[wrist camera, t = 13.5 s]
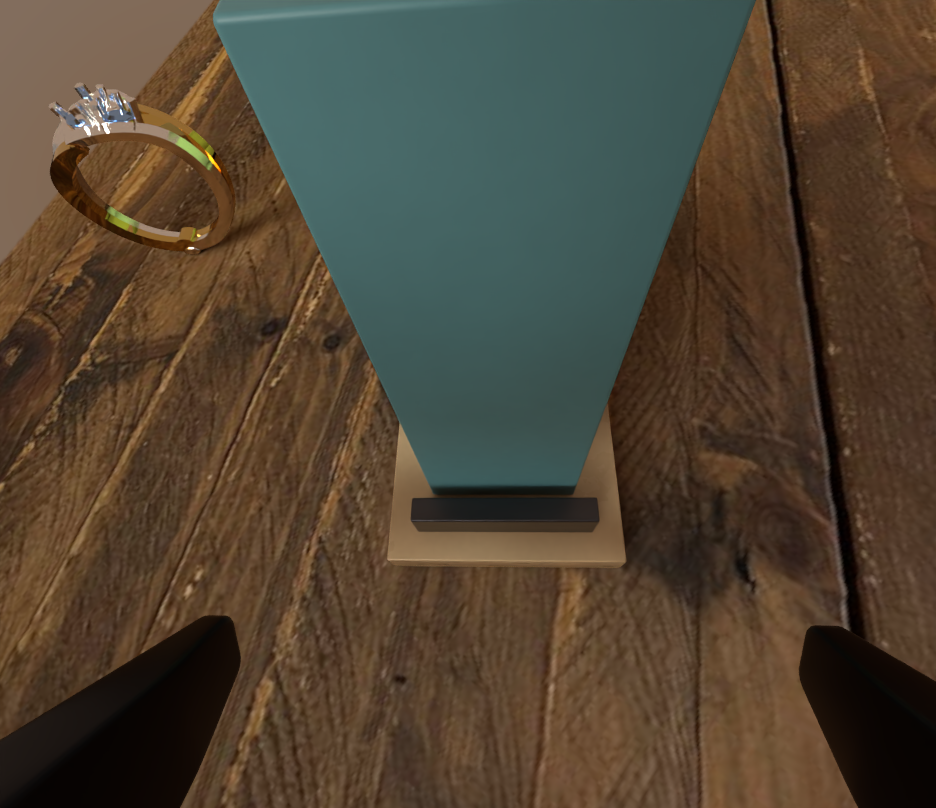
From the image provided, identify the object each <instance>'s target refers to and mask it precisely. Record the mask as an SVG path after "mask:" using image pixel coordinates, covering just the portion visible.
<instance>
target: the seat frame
mask: <svg viewBox="0 0 936 808" xmlns="http://www.w3.org/2000/svg"><path fill="white" fill-rule="evenodd" d="M387 560H388V561H389V562H391V563H392V564H393V565H394V566H454V567H564V568H620V567H621V566H622V565H623V564H624V563H626V552H625V544H624V536H623V527H622V519H621V510H620V502H619V494H618V485H617V477H616V469H615V460H614V452H613V444H612V435H611V427H610V419H609V410H608V402H607V405H606V407H605V410H604V413H603V415H602V418H601V421H600V424H599V426H598V429H597V432H596V434H595V437H594V440H593V443H592V445H591V448H590V451H589V453H588V456H587V459H586V461H585V464H584V467H583V470H582V472H581V475H580V478H579V480H578V483H577V486H576V489H575V491H574V494H572V495H435V494H433V493H432V490H431V488H430V486H429V484H428V482H427V480H426V478H425V475H424V473H423V471H422V469H421V467H420V465H419V463H418V460H417V458H416V456H415V454H414V452H413V450H412V448H411V445H410V443H409V441H408V439H407V437H406V435H405V433H404V430H403V428H402V426H401V424H400V425H399V436H398V447H397V458H396V469H395V480H394V490H393V501H392V512H391V523H390V534H389V545H388V555H387Z"/></svg>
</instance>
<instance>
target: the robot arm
mask: <svg viewBox="0 0 936 808" xmlns="http://www.w3.org/2000/svg"><path fill="white" fill-rule="evenodd" d="M240 662H241V656H240V650H239V646H238V641H237V637H236V632H235V627H234V623H233V621H232V619H231V618H230V617H228V616H216V615H208V616H203V617H201V618H200V619H198V620H196V621H195V622H193V623H191V624H190V625H188V626H186V627H185V628H183V629H181V630H180V631H178V632H177V633H175V634H173V635H172V636H170V637H168V638H167V639H165V640H163V641H162V642H160V643H159V644H157V645H155V646H154V647H152V648H150V649H149V650H147V651H145V652H144V653H142V654H140V655H139V656H137V657H136V658H134V659H132V660H131V661H129V662H127V663H126V664H124V665H122V666H121V667H119V668H118V669H116V670H114V671H113V672H111V673H109V674H108V675H106V676H104V677H103V678H101V679H99V680H98V681H96V682H95V683H93V684H91V685H90V686H88V687H86V688H85V689H83V690H81V691H80V692H78V693H76V694H75V695H73V696H72V697H70V698H68V699H67V700H65V701H63V702H62V703H60V704H58V705H57V706H55V707H54V708H52V709H50V710H49V711H47V712H45V713H44V714H42V715H40V716H39V717H37V718H35V719H34V720H32V721H31V722H29V723H27V724H26V725H24V726H22V727H21V728H19V729H17V730H16V731H14V732H12V733H11V734H9V735H8V736H6V737H4V738H3V739H1V740H0V808H180V807H181V805H182V803H183V801H184V799H185V797H186V795H187V793H188V791H189V789H190V787H191V785H192V783H193V780H194V778H195V776H196V774H197V772H198V770H199V768H200V765H201V763H202V761H203V758H204V756H205V754H206V751H207V749H208V746H209V744H210V741H211V739H212V736H213V734H214V731H215V729H216V726H217V724H218V721H219V719H220V716H221V714H222V711H223V709H224V706H225V704H226V702H227V699H228V697H229V694H230V692H231V689H232V687H233V684H234V682H235V679H236V677H237V674H238V671H239V668H240ZM799 676H800V681H801V684H802V687H803V689H804V692H805V694H806V696H807V698H808V700H809V703H810V705H811V707H812V709H813V712H814V714H815V716H816V718H817V720H818V723H819V725H820V727H821V729H822V731H823V734H824V736H825V738H826V740H827V742H828V745H829V747H830V749H831V751H832V753H833V756H834V758H835V760H836V762H837V764H838V767H839V769H840V771H841V773H842V775H843V778H844V780H845V782H846V784H847V786H848V788H849V790H850V792H851V794H852V796H853V798H854V801H855V802H856V804H857V806H858V808H936V681H934V680H932V679H931V678H929V677H927V676H925V675H924V674H922V673H920V672H919V671H917V670H915V669H913V668H912V667H910V666H908V665H906V664H905V663H903V662H901V661H900V660H898V659H896V658H894V657H893V656H891V655H889V654H888V653H886V652H884V651H882V650H881V649H879V648H877V647H876V646H874V645H872V644H870V643H869V642H867V641H865V640H864V639H862V638H860V637H858V636H857V635H855V634H853V633H852V632H850V631H848V630H846V629H844V628H843V627H839V626H817V625H815V626H811V627H810V628H809V629H808V630H807V632H806V635H805V640H804V646H803V651H802V656H801V661H800V666H799Z"/></svg>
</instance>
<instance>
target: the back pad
mask: <svg viewBox="0 0 936 808" xmlns="http://www.w3.org/2000/svg"><path fill="white" fill-rule="evenodd" d="M755 1H756V0H220V1H219V3H218V5H217V7H216V9H215V11H214V13H213V21H214V26H215V28H216V30H217V32H218V34H219V36H220V39H221V41H222V43H223V45H224V47H225V49H226V51H227V54H228V56H229V58H230V60H231V62H232V64H233V66H234V69H235V71H236V73H237V75H238V77H239V79H240V81H241V84H242V86H243V88H244V90H245V92H246V94H247V96H248V99H249V101H250V103H251V105H252V107H253V109H254V111H255V114H256V116H257V118H258V120H259V122H260V124H261V126H262V129H263V131H264V133H265V135H266V137H267V139H268V141H269V144H270V146H271V148H272V150H273V152H274V154H275V156H276V159H277V161H278V163H279V165H280V167H281V169H282V171H283V173H284V176H285V178H286V180H287V182H288V184H289V186H290V188H291V191H292V193H293V195H294V197H295V199H296V201H297V203H298V206H299V208H300V210H301V212H302V214H303V216H304V218H305V221H306V223H307V225H308V227H309V229H310V231H311V233H312V236H313V238H314V240H315V242H316V244H317V246H318V248H319V251H320V253H321V255H322V257H323V259H324V261H325V263H326V266H327V268H328V270H329V272H330V274H331V276H332V278H333V281H334V283H335V285H336V287H337V289H338V291H339V293H340V296H341V298H342V300H343V302H344V304H345V306H346V308H347V311H348V313H349V315H350V317H351V319H352V321H353V323H354V326H355V328H356V330H357V332H358V334H359V336H360V338H361V341H362V343H363V345H364V347H365V349H366V351H367V353H368V356H369V358H370V360H371V362H372V364H373V366H374V368H375V371H376V373H377V375H378V377H379V379H380V381H381V383H382V386H383V388H384V390H385V392H386V394H387V396H388V398H389V401H390V403H391V405H392V407H393V409H394V411H395V413H396V416H397V418H398V420H399V422H400V424H401V426H402V428H403V430H404V433H405V435H406V437H407V439H408V441H409V443H410V445H411V448H412V450H413V452H414V454H415V456H416V458H417V460H418V463H419V465H420V467H421V469H422V471H423V473H424V475H425V478H426V480H427V482H428V484H429V486H430V488H431V490H432V493H433V494H435V495H572V494H574V491H575V489H576V486H577V483H578V480H579V478H580V475H581V472H582V470H583V467H584V464H585V461H586V459H587V456H588V453H589V451H590V448H591V445H592V443H593V440H594V437H595V434H596V432H597V429H598V426H599V424H600V421H601V418H602V415H603V413H604V410H605V407H606V405H607V402H608V399H609V397H610V394H611V391H612V388H613V386H614V383H615V380H616V378H617V375H618V372H619V369H620V367H621V364H622V361H623V359H624V356H625V353H626V350H627V348H628V345H629V342H630V340H631V337H632V334H633V332H634V329H635V326H636V323H637V321H638V318H639V315H640V313H641V310H642V307H643V304H644V302H645V299H646V296H647V294H648V291H649V288H650V286H651V283H652V280H653V277H654V275H655V272H656V269H657V267H658V264H659V261H660V258H661V256H662V253H663V250H664V248H665V245H666V242H667V240H668V237H669V234H670V231H671V229H672V226H673V223H674V221H675V218H676V215H677V212H678V210H679V207H680V204H681V202H682V199H683V196H684V193H685V191H686V188H687V185H688V183H689V180H690V177H691V175H692V172H693V169H694V166H695V164H696V161H697V158H698V156H699V153H700V150H701V147H702V145H703V142H704V139H705V137H706V134H707V131H708V129H709V126H710V123H711V120H712V118H713V115H714V112H715V110H716V107H717V104H718V101H719V99H720V96H721V93H722V91H723V88H724V85H725V82H726V80H727V77H728V74H729V72H730V69H731V66H732V64H733V61H734V58H735V55H736V53H737V50H738V47H739V45H740V42H741V39H742V36H743V34H744V31H745V28H746V26H747V23H748V20H749V18H750V15H751V12H752V9H753V7H754V4H755Z"/></svg>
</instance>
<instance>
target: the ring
mask: <svg viewBox="0 0 936 808" xmlns="http://www.w3.org/2000/svg"><path fill="white" fill-rule="evenodd" d="M74 88H75V90H76V91H77V92H78V94H79V95H80V96H81V98H82V99H81V100H79V101H78V102H77V103H76V104H75V103H74V104H72V105H71V107H70V108H69V109H68V112H67V111H66V110H65V109H64V108H63V107H61V106H60V105H59V104H58V103H57V102H54V103H52V104H50V105H49V109H50V110H51V111H52V112H53V113H55V114H56V115H57V116H58V117H59V118H60V119H61V122H60V123H59V126H58V128H57V130H56V132H55V134H54V138H53V159H52V163H51V167H50V175H51V179H52V182H53V184H54V186H55V187H56V189H57V190H58V192H59V193H60V194H61V195H62V196H63V198H64V199H65V200H66V201H67V202H68V203H70V204H71V205H72V206H73V207H74V208H75V209H77V210H78V211H79V212H80V213H82V214H83V215H84V216H86V217H87V218H89V219H90V220H92V221H93V222H95V223H97V224H98V225H100V226H102V227H103V228H105V229H107V230H109V231H111V232H113V233H115V234H117V235H119V236H121V237H124V238H126V239H129V240H131V241H134V242H137V243H140V244H143V245H146V246H150V247H154V248H159V249H164V250H172V251H184V252H185V253H186V254H191V255H195V254H199V253H200V251H201V250H202V249H206V248H209V247H211V246H213V245H215V244H217V243H218V242H220V241H221V240H222V239H223V238H224V237H225V236H226V234H227V232H228V230H229V228H230V226H231V223H232V220H233V217H234V213H235V206H236V201H235V192H234V188H233V184H232V181H231V179H230V176H229V174H228V172H227V170H226V168H225V166H224V164H223V163H222V161H221V159H220V158H219V157H218V155H217V154H216V152H215V151H214V150H213V149H212V148H211V146H210V145H209V144H208V143H207V142H206V141H205V140H204V139H203V138H202V137H201V136H200V135H198V134H197V133H196V132H195V131H194V130H192V129H191V128H190V127H188V126H187V125H185V124H184V123H182V122H181V121H179V120H177V119H176V118H174V117H172V116H170V115H168V114H166V113H163V112H161V111H159V110H156V109H153V108H150V107H147V106H144V105H140V104H137V102H136V100H135V98H132V97H129V96H128V95H126V94H124V93H123V92H120V91H118V90H116V89H114V90H105V88H104V86H103V85H102V84H98V85H96V88H97V91H96V92H93V93H91V92H90V91H89V90H88V88H87V87H86V85H85V84H83V83H77V84H76V85H75V87H74ZM113 141H137V142H144V143H149V144H153V145H156V146H159V147H161V148H164V149H166V150H168V151H170V152H172V153H173V154H175V155H177V156H178V157H180V158H181V159H183V160H184V161H185V162H186V163H188V164H189V165H190V166H191V167H192V168H194V169H195V170H196V171H197V172H198V173H199V174H200V175H201V176H202V177H203V179H204V180H205V181H206V182H207V183H208V185H209V186H210V188H211V189H212V191H213V193H214V195H215V197H216V199H217V202H218V206H219V215H218V217H217V219H216V220H215V221H214V222H213V223H212V224H210V225H209V226H207V227H205V228H203V229H200V230H197V229H195V228H192V227H184V228H182V229H181V231H180V232H172V231H165V230H160V229H156V228H153V227H149V226H147V225H144V224H141V223H139V222H137V221H134V220H132V219H130V218H128V217H126V216H125V215H123V214H121V213H120V212H118V211H116V210H115V209H113V208H112V207H111V206H109V205H108V204H107V203H105V202H104V201H103V200H102V199H101V198H100V197H99V196H98V195H97V194H96V193H95V192H94V191H93V190H92V189H91V188H90V186H89V185H88V184H87V182H86V181H85V179H84V177H83V176H82V174H81V172H80V170H79V168H78V164H79V162H80V161H81V160H82V159H83V158H84V157H86V156H87V155H88V154H89V150H90V149H89V148H88V147H87V146H90V145H93V144H98V143H104V142H113Z"/></svg>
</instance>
